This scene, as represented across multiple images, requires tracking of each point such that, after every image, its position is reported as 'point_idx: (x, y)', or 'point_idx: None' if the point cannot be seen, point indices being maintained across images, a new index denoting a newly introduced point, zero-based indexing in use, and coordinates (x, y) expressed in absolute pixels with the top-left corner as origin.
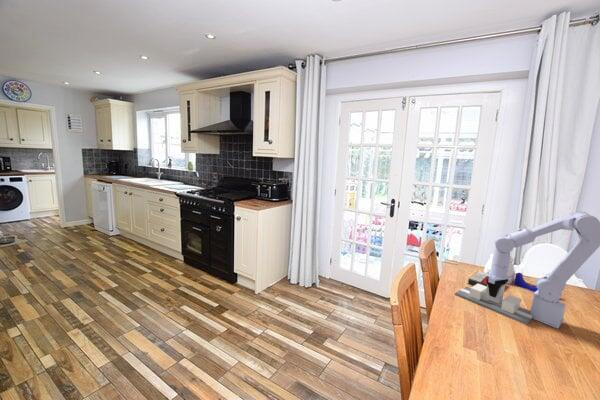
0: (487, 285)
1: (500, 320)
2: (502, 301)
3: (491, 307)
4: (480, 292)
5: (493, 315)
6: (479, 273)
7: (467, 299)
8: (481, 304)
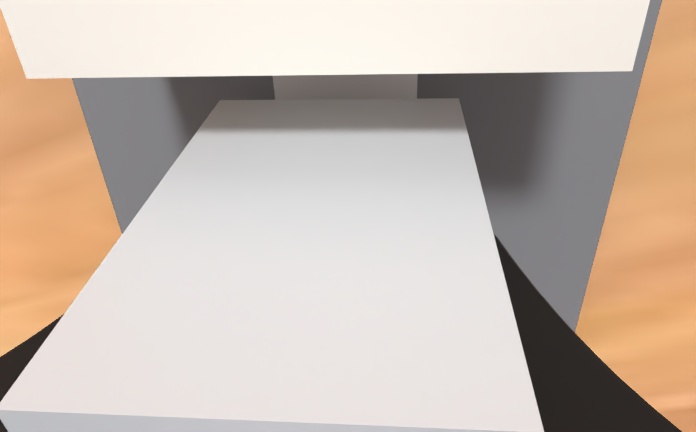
0: (76, 318)
1: (14, 327)
2: (530, 251)
3: (127, 221)
4: (40, 68)
5: (31, 260)
6: None
7: None
8: (83, 82)
